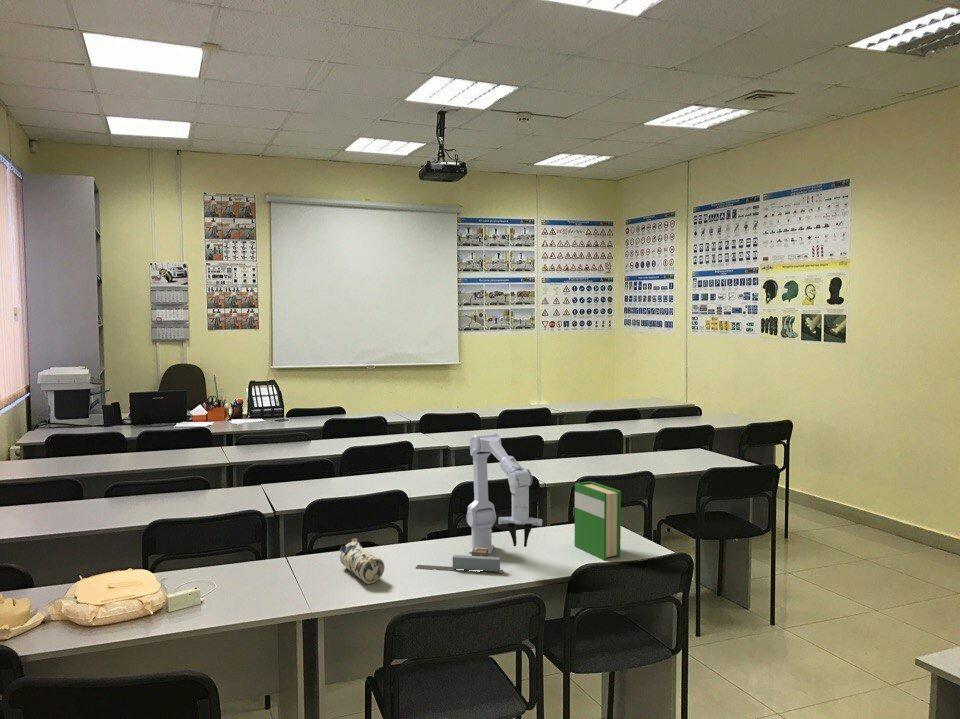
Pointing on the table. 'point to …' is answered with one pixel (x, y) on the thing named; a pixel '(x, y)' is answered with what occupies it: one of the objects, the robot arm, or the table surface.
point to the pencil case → (361, 562)
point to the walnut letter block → (480, 552)
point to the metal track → (450, 568)
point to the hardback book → (597, 519)
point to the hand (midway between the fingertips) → (520, 545)
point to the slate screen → (476, 563)
